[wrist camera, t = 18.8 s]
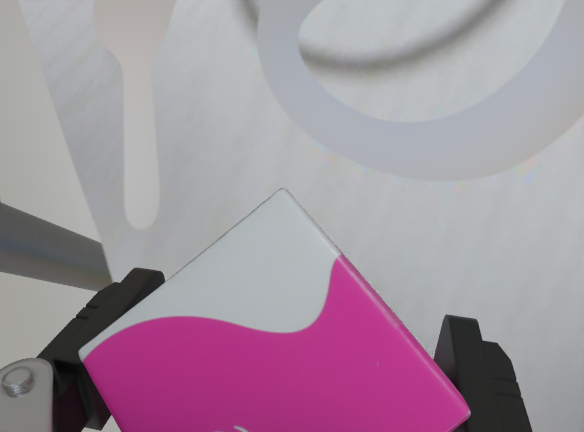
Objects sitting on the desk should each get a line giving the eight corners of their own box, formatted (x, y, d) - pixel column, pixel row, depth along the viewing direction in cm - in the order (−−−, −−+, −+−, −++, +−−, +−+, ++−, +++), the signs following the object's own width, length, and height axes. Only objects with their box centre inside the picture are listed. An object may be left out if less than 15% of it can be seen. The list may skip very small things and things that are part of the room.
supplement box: (222, 346, 20) (63, 344, 9) (323, 265, 20) (292, 168, 9) (300, 462, 18) (221, 638, 7) (409, 370, 18) (494, 402, 8)
